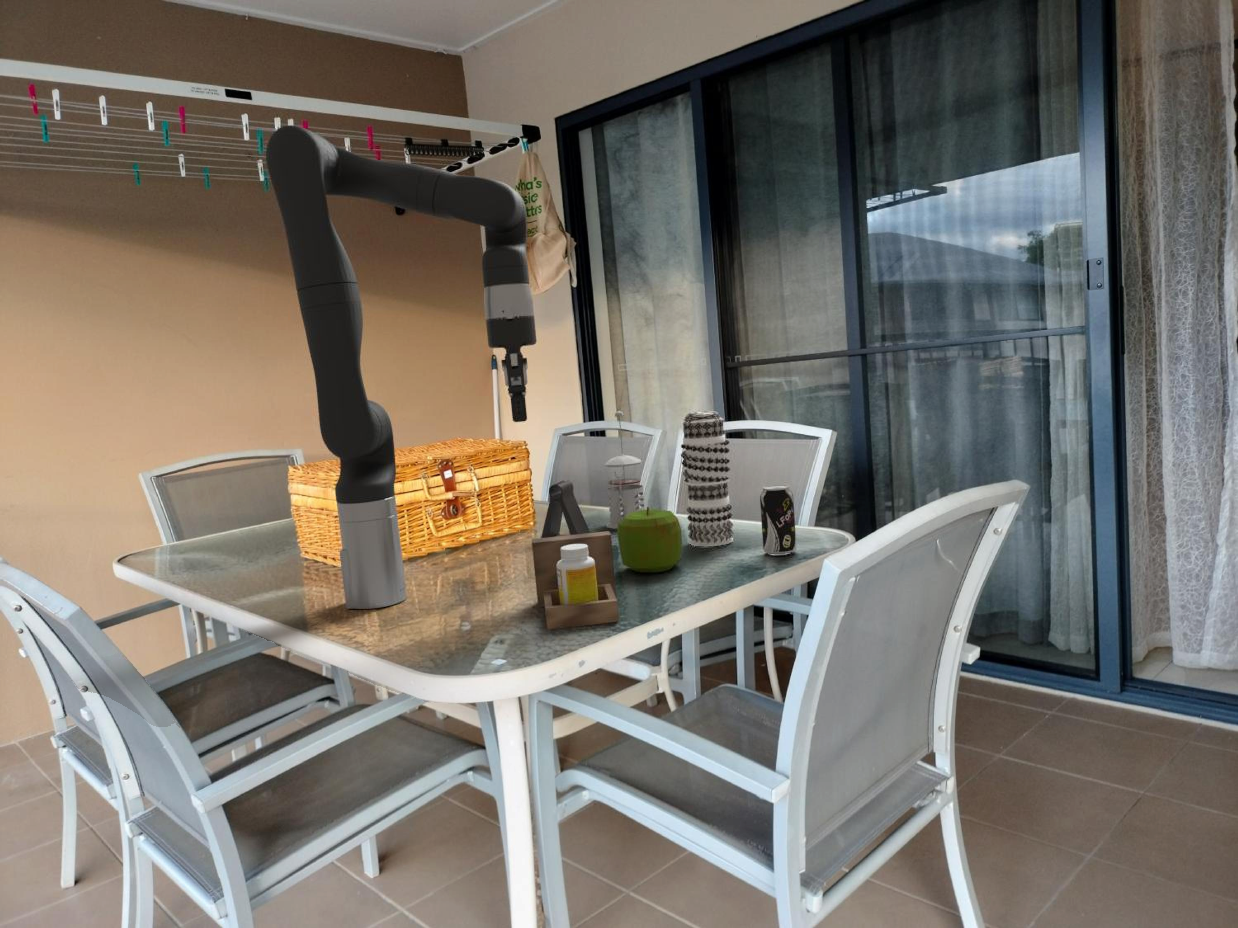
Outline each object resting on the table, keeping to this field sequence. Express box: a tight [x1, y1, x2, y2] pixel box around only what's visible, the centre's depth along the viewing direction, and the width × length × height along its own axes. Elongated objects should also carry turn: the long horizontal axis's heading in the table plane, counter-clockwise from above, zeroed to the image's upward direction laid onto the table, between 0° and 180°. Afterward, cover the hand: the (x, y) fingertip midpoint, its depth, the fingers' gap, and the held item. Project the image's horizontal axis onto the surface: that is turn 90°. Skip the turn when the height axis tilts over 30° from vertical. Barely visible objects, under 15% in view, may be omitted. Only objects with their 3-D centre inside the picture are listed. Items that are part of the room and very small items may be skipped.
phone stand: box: [540, 480, 591, 538], centre depth 187 cm, size 9×6×12 cm, turn 71°
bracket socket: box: [531, 530, 620, 631], centre depth 132 cm, size 12×15×10 cm
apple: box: [616, 506, 683, 574], centre depth 154 cm, size 11×11×11 cm
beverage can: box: [759, 484, 797, 555], centre depth 158 cm, size 6×6×12 cm
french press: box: [604, 410, 646, 530], centre depth 196 cm, size 10×12×25 cm
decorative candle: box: [680, 410, 734, 547], centre depth 171 cm, size 9×9×25 cm
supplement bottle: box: [556, 544, 598, 605], centre depth 130 cm, size 6×6×10 cm
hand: (519, 419), depth 142 cm, fingers open, 8 cm apart
